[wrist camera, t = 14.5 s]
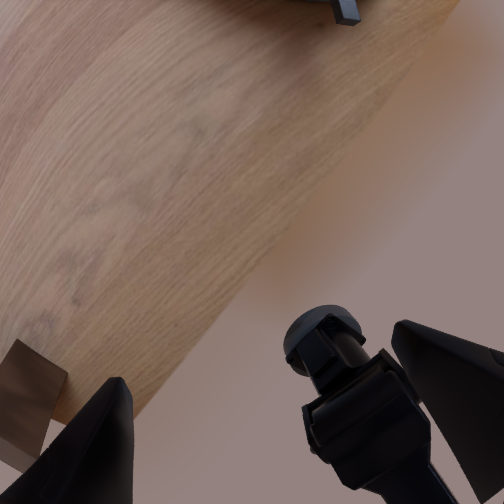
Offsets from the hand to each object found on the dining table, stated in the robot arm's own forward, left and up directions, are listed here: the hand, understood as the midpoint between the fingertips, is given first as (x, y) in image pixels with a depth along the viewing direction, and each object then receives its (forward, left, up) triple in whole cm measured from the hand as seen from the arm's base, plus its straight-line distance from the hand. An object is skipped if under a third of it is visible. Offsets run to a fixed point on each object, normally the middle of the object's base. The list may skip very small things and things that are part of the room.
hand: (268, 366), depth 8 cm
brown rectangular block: (+7, +22, -13) cm, 27 cm away
